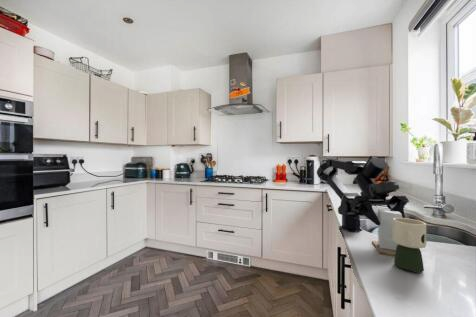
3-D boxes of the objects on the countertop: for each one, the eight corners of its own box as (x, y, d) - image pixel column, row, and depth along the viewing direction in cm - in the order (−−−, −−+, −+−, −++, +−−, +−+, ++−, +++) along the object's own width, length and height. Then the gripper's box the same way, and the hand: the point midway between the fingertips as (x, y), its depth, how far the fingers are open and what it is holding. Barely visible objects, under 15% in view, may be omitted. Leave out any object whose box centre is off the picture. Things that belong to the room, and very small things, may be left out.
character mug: (430, 282, 50) (430, 228, 51) (393, 273, 54) (393, 223, 55) (422, 264, 59) (422, 218, 60) (391, 257, 63) (391, 214, 64)
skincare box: (399, 247, 70) (399, 211, 70) (402, 252, 66) (402, 214, 66) (377, 243, 72) (377, 209, 73) (379, 248, 69) (379, 211, 69)
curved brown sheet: (372, 242, 75) (372, 240, 75) (398, 245, 72) (398, 244, 72) (380, 253, 66) (380, 252, 66) (411, 258, 63) (411, 256, 63)
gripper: (355, 172, 73) (379, 212, 62) (404, 172, 74) (436, 211, 63) (341, 191, 80) (360, 229, 69) (386, 191, 82) (412, 228, 71)
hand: (392, 224), depth 68 cm, fingers open, 9 cm apart
